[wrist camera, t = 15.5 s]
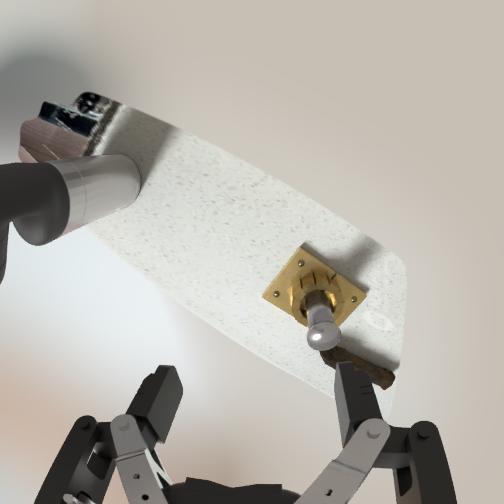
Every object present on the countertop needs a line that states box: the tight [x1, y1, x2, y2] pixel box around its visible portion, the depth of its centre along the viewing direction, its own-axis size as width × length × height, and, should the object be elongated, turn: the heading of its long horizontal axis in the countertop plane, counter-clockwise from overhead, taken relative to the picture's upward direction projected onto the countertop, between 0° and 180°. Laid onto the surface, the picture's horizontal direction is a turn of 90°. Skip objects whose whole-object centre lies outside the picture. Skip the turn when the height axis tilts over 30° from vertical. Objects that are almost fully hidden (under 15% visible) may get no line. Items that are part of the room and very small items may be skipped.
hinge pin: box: [305, 289, 341, 351], centre depth 38 cm, size 4×4×11 cm
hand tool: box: [320, 346, 395, 390], centre depth 46 cm, size 19×4×5 cm, turn 57°
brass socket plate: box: [262, 247, 367, 327], centre depth 42 cm, size 14×10×4 cm
